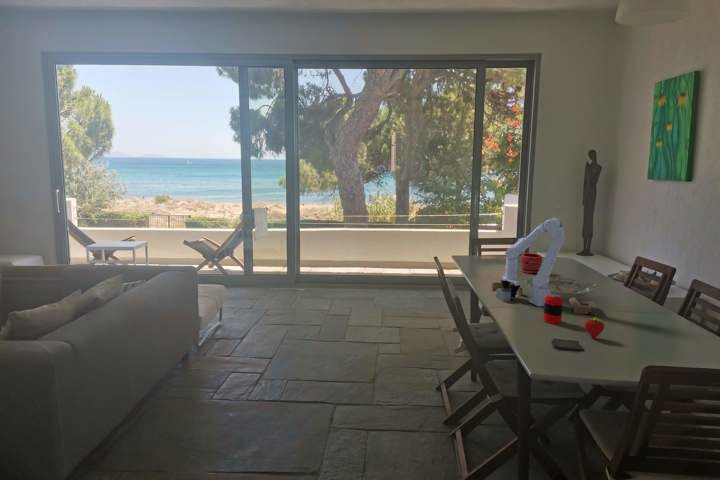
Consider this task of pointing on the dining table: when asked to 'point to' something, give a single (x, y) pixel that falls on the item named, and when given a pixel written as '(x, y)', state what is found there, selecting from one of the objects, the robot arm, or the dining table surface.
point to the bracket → (504, 294)
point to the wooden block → (584, 307)
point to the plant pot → (531, 262)
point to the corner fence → (499, 285)
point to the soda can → (553, 309)
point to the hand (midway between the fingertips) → (509, 295)
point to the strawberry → (594, 327)
